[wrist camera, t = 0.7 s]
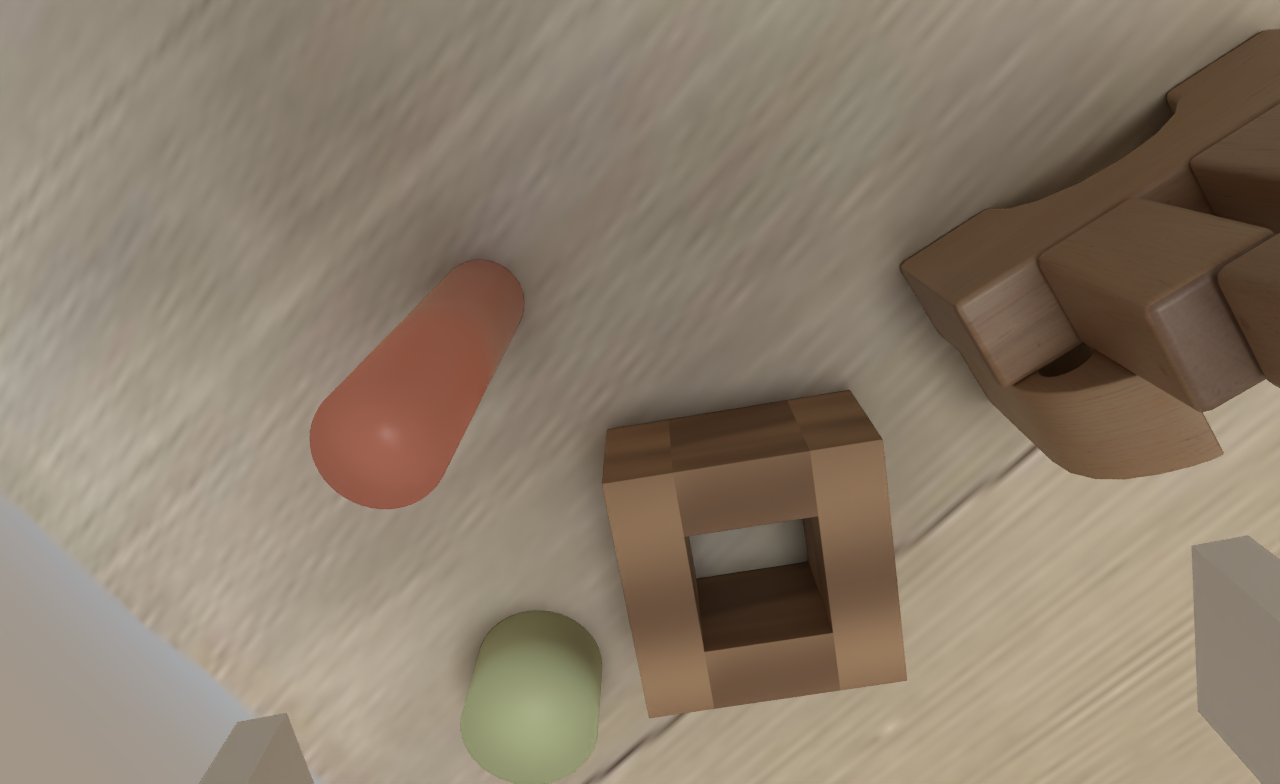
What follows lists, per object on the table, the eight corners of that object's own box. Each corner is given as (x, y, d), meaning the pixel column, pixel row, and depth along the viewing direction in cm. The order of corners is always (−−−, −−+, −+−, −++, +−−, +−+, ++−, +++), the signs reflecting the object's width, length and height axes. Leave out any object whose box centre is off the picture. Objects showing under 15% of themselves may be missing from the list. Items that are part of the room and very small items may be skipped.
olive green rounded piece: (465, 620, 38) (446, 680, 34) (589, 601, 38) (583, 659, 34) (492, 724, 40) (477, 793, 36) (612, 707, 39) (609, 774, 36)
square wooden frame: (607, 429, 36) (601, 484, 31) (850, 390, 35) (882, 439, 30) (648, 638, 38) (649, 717, 34) (873, 604, 38) (907, 680, 33)
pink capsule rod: (430, 267, 34) (293, 391, 20) (514, 253, 33) (430, 368, 20) (450, 348, 35) (331, 518, 21) (531, 335, 34) (463, 497, 21)
